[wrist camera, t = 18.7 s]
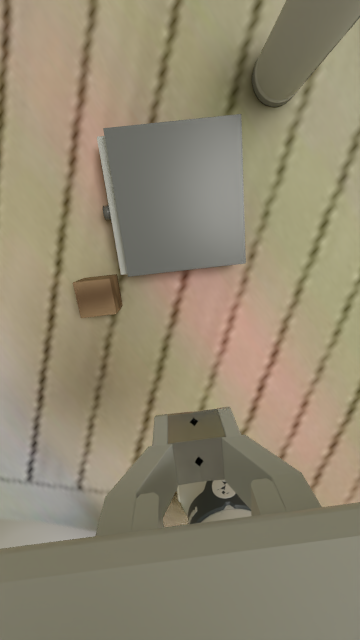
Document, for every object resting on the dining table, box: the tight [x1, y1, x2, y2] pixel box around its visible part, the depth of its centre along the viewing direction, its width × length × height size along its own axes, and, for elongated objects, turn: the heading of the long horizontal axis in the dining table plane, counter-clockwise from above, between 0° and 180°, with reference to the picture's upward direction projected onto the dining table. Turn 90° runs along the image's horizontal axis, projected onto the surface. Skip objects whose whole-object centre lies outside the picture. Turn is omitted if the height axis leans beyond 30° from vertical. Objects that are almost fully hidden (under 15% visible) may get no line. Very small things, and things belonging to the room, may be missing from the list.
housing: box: [103, 114, 246, 277], centre depth 34 cm, size 17×16×5 cm
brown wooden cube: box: [73, 274, 122, 318], centre depth 37 cm, size 5×5×5 cm
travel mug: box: [252, 0, 360, 107], centre depth 23 cm, size 6×7×20 cm
